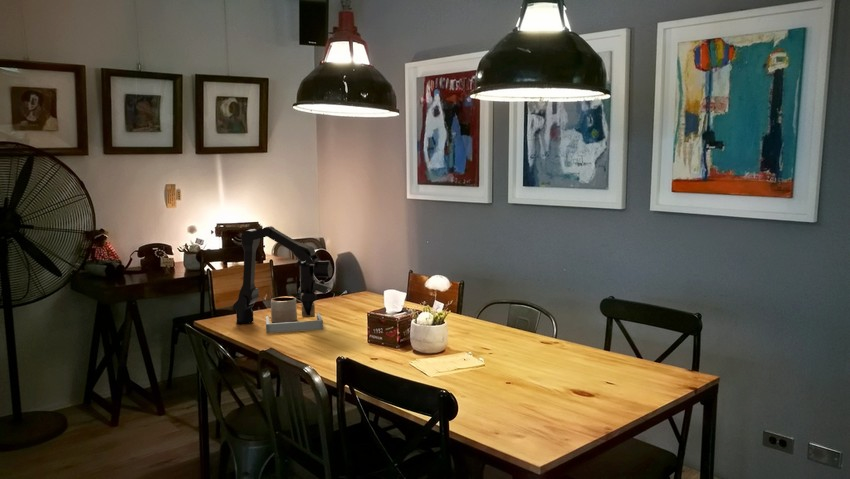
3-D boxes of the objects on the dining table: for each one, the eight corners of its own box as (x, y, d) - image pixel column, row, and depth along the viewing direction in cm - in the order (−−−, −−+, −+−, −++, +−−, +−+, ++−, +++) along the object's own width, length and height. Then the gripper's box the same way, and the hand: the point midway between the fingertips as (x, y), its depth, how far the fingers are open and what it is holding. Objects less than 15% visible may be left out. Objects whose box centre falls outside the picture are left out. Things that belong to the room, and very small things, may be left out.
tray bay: (266, 333, 269) (266, 324, 269) (265, 324, 283) (265, 316, 283) (323, 329, 275) (322, 320, 274) (319, 321, 288) (319, 313, 288)
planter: (266, 323, 286) (265, 300, 285) (279, 317, 296) (278, 295, 295) (289, 324, 283) (288, 302, 282) (301, 318, 293) (300, 297, 292)
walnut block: (302, 317, 278) (302, 305, 277) (301, 315, 283) (301, 303, 282) (314, 317, 279) (314, 305, 279) (313, 314, 284) (313, 302, 283)
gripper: (329, 279, 272) (329, 317, 274) (324, 272, 290) (325, 307, 292) (300, 280, 269) (302, 319, 271) (298, 273, 287) (299, 309, 289)
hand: (308, 313), depth 281 cm, fingers closed on walnut block, 5 cm apart
